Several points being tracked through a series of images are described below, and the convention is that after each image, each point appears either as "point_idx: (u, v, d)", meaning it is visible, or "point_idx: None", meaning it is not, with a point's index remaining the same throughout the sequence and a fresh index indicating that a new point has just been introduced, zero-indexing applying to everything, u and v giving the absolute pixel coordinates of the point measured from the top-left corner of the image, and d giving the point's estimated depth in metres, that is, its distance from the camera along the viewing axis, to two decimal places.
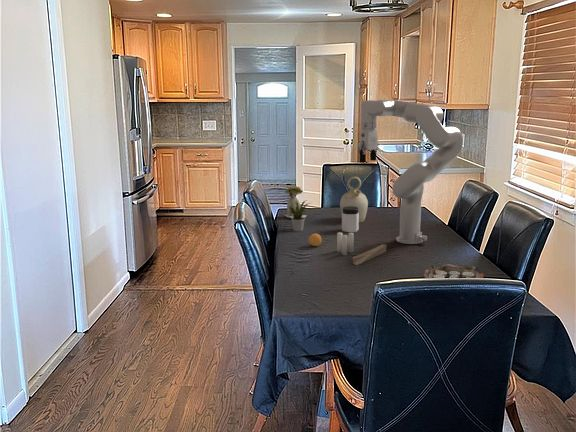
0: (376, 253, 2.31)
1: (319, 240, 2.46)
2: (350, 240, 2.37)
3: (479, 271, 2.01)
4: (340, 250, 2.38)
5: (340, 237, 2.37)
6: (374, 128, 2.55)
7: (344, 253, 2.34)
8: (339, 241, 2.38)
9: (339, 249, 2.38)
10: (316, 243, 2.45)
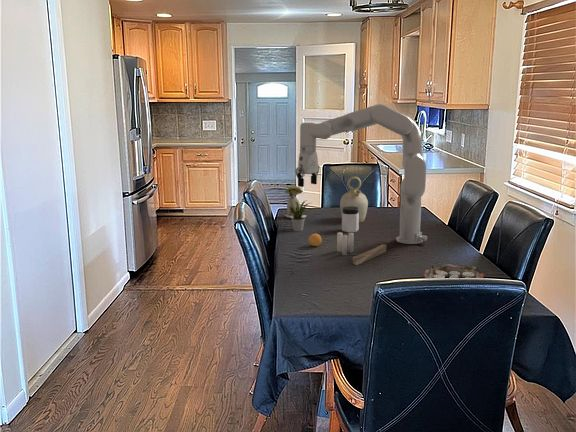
0: (376, 253, 2.31)
1: (319, 240, 2.46)
2: (350, 240, 2.37)
3: (479, 271, 2.00)
4: (340, 250, 2.38)
5: (340, 237, 2.37)
6: (313, 151, 2.46)
7: (344, 253, 2.34)
8: (339, 241, 2.38)
9: (339, 249, 2.38)
10: (316, 243, 2.45)
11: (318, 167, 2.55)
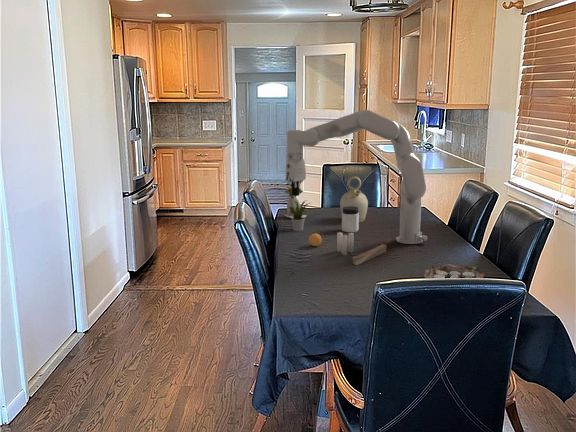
0: (376, 253, 2.31)
1: (319, 240, 2.46)
2: (350, 240, 2.37)
3: (479, 271, 2.00)
4: (340, 250, 2.38)
5: (340, 237, 2.37)
6: (300, 159, 2.44)
7: (344, 253, 2.34)
8: (339, 241, 2.38)
9: (339, 249, 2.38)
10: (316, 243, 2.45)
11: (302, 180, 2.52)
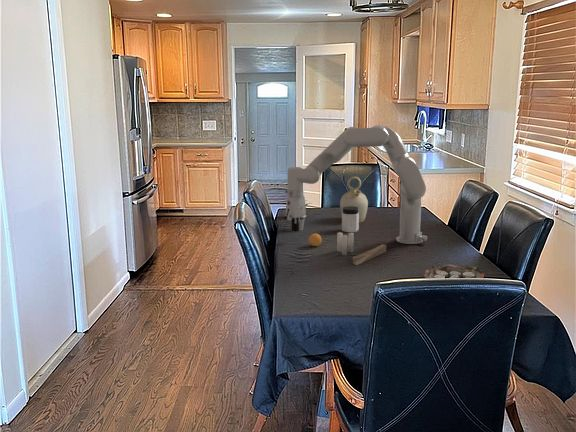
0: (376, 253, 2.31)
1: (319, 240, 2.46)
2: (350, 240, 2.37)
3: (480, 271, 2.00)
4: (340, 250, 2.38)
5: (340, 237, 2.37)
6: (300, 196, 2.48)
7: (344, 253, 2.34)
8: (339, 241, 2.38)
9: (339, 249, 2.38)
10: (316, 243, 2.45)
11: (302, 215, 2.56)
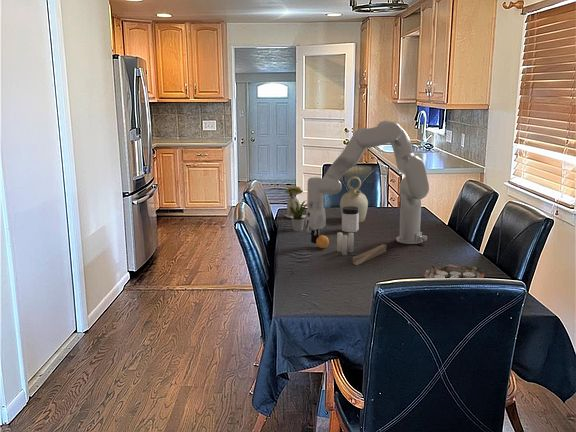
0: (376, 253, 2.31)
1: (324, 247, 2.44)
2: (350, 240, 2.37)
3: (480, 271, 2.00)
4: (340, 250, 2.38)
5: (340, 237, 2.37)
6: (320, 207, 2.41)
7: (344, 253, 2.34)
8: (339, 241, 2.38)
9: (339, 249, 2.38)
10: None
11: None
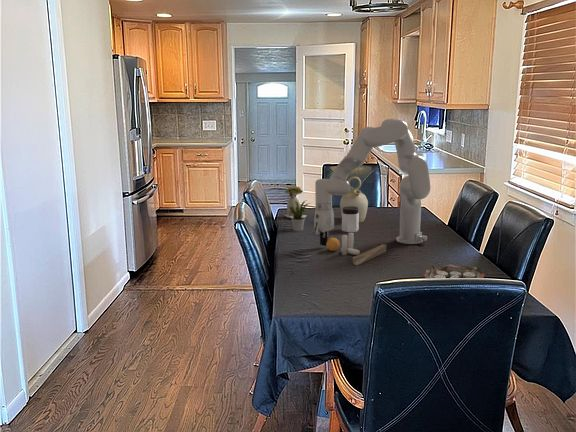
0: (376, 253, 2.31)
1: None
2: (350, 240, 2.37)
3: (480, 272, 2.00)
4: None
5: (354, 254, 2.34)
6: (329, 209, 2.38)
7: (344, 253, 2.34)
8: (350, 252, 2.35)
9: None
10: (327, 241, 2.40)
11: None
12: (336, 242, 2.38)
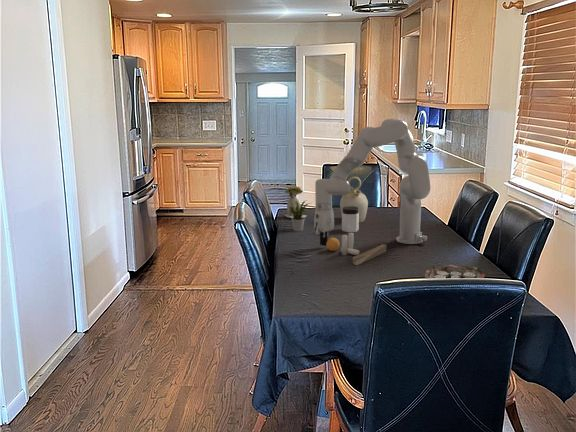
0: (376, 253, 2.31)
1: None
2: (350, 240, 2.37)
3: (480, 272, 2.00)
4: None
5: (354, 254, 2.34)
6: (329, 209, 2.38)
7: (344, 253, 2.34)
8: (350, 253, 2.35)
9: None
10: (327, 241, 2.40)
11: None
12: (336, 242, 2.38)
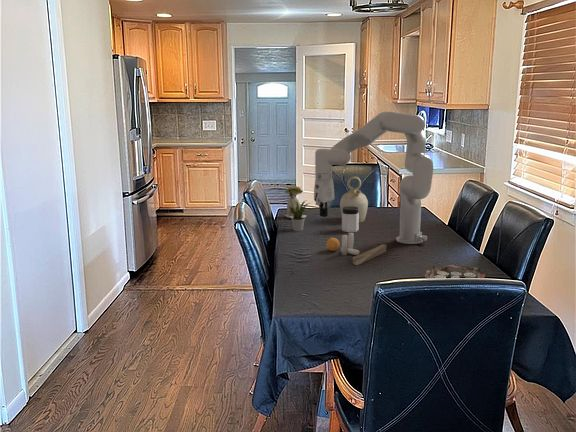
0: (376, 253, 2.31)
1: None
2: (350, 240, 2.37)
3: (481, 272, 2.00)
4: None
5: (354, 254, 2.34)
6: (329, 179, 2.35)
7: (344, 253, 2.34)
8: (350, 253, 2.35)
9: None
10: (327, 241, 2.40)
11: None
12: (336, 242, 2.38)
